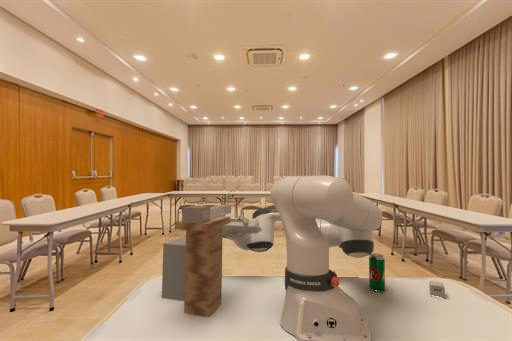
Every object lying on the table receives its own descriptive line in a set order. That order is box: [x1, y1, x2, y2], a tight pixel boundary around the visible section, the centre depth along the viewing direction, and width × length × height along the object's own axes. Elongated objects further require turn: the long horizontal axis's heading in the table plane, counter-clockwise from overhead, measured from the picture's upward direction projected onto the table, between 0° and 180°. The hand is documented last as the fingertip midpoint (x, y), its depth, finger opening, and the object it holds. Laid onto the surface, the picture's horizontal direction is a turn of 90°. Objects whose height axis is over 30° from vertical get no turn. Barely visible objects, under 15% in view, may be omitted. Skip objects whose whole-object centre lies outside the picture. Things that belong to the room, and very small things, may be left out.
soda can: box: [368, 253, 386, 292], centre depth 93 cm, size 5×5×12 cm
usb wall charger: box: [428, 280, 446, 299], centre depth 90 cm, size 4×7×4 cm, turn 150°
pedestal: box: [161, 235, 186, 302], centre depth 91 cm, size 8×16×17 cm, turn 165°
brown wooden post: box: [174, 215, 231, 318], centre depth 78 cm, size 10×16×26 cm, turn 165°
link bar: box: [181, 204, 232, 223], centre depth 83 cm, size 6×26×4 cm, turn 165°
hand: (228, 216), depth 98 cm, fingers open, 8 cm apart
